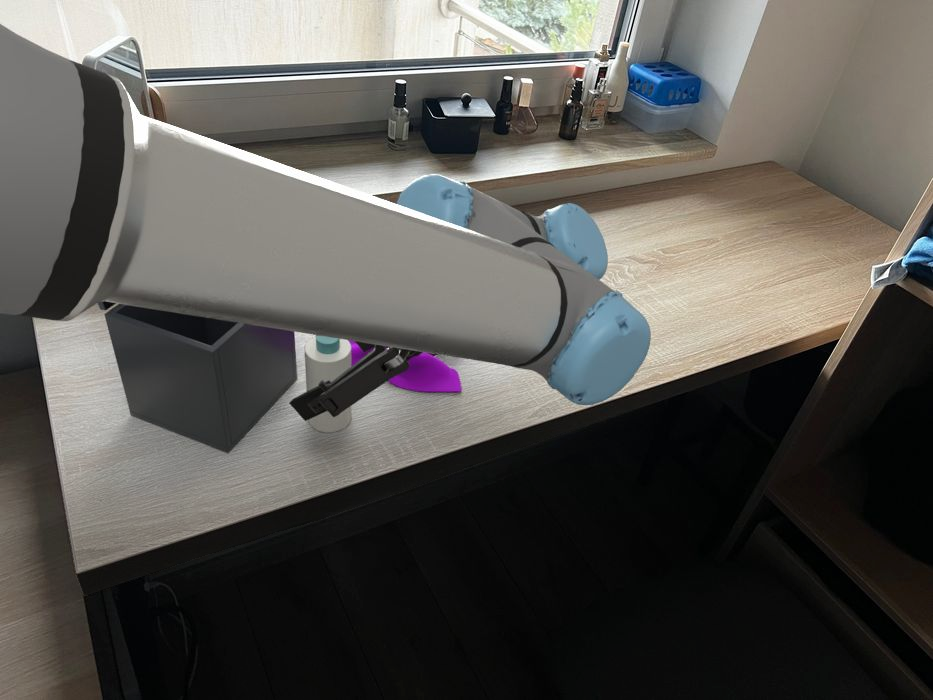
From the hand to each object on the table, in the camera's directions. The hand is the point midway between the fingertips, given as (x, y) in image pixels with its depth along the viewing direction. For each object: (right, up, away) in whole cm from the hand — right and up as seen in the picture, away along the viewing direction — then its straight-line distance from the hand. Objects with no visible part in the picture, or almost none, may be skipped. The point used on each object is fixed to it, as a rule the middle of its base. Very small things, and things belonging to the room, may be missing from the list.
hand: (330, 374), depth 84 cm
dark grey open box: (-15, -3, +5) cm, 16 cm away
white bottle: (-1, -5, +4) cm, 7 cm away
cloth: (+7, +3, +17) cm, 18 cm away
